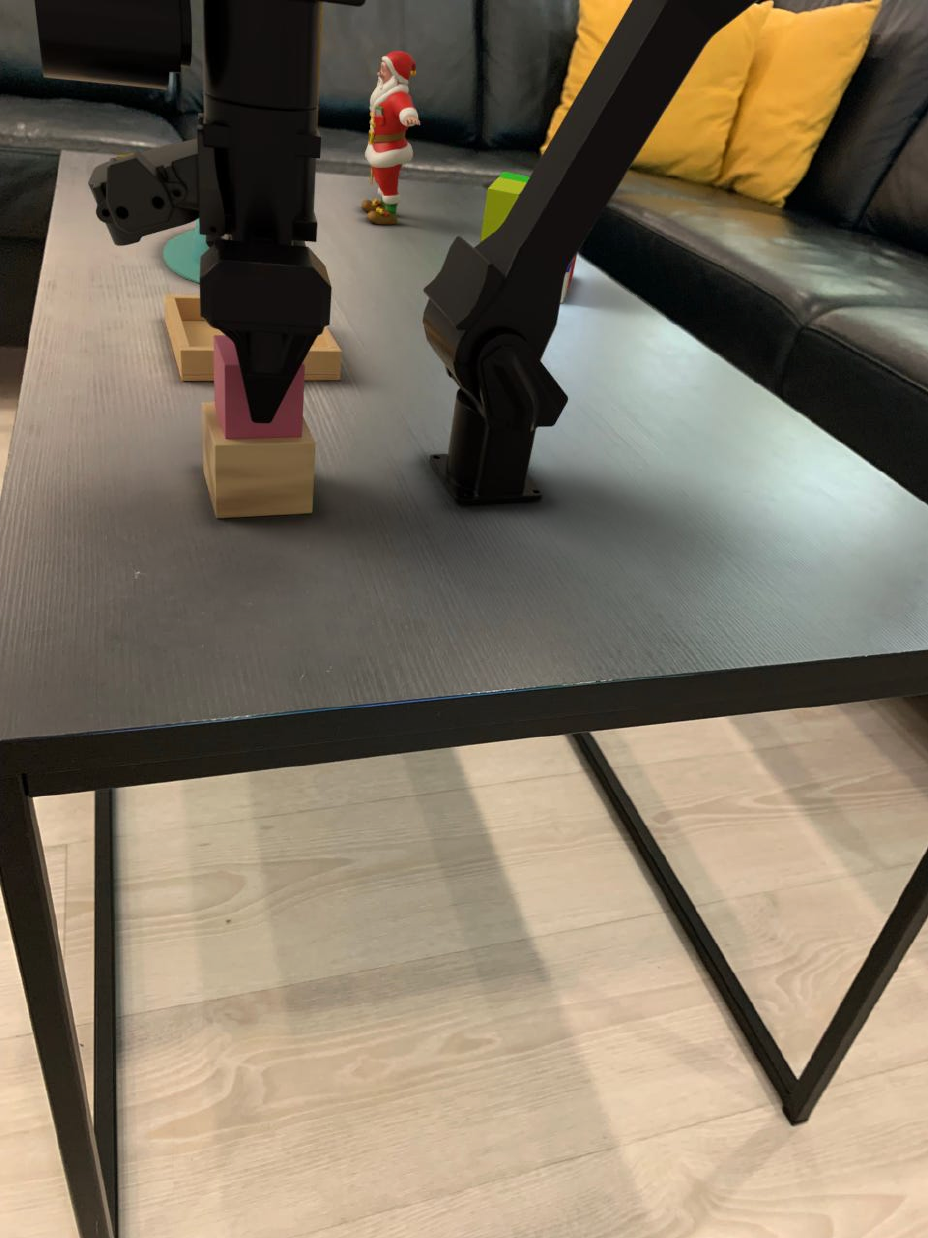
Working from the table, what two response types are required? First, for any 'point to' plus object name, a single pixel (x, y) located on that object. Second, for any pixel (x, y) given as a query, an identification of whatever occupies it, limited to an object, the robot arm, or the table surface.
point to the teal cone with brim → (186, 254)
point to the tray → (197, 335)
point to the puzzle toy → (499, 206)
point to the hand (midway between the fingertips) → (258, 388)
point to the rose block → (234, 399)
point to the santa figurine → (389, 134)
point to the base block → (257, 471)
